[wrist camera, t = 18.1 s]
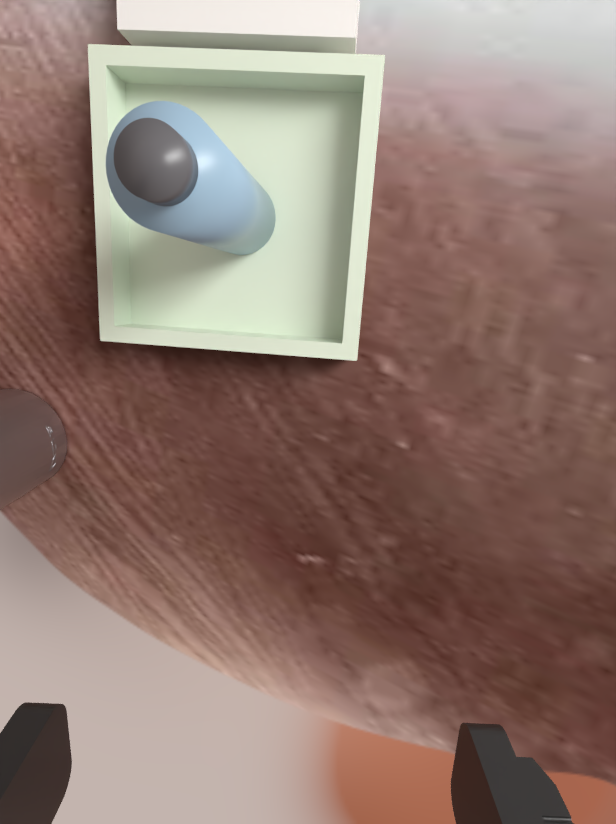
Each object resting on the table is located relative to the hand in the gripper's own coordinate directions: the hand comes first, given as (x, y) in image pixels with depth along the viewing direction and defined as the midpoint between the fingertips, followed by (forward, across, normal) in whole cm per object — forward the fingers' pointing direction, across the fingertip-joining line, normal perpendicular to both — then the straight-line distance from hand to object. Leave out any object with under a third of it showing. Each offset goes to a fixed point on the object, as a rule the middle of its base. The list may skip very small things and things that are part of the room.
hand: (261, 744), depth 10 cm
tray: (+33, +5, -13) cm, 36 cm away
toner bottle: (+32, +5, -13) cm, 35 cm away
